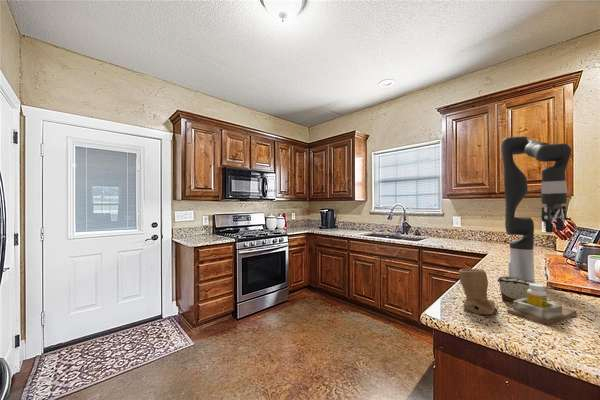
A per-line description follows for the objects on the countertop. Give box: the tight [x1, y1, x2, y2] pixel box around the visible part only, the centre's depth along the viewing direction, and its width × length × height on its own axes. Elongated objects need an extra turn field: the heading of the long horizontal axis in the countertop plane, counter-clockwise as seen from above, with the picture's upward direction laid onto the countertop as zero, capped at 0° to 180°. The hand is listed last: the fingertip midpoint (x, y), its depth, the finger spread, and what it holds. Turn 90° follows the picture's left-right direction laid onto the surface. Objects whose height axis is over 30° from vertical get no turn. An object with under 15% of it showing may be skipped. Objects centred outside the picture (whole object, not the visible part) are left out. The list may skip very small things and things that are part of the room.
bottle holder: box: [506, 297, 578, 327], centre depth 94 cm, size 12×20×4 cm, turn 115°
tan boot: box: [458, 268, 496, 315], centre depth 100 cm, size 15×12×15 cm
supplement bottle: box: [527, 282, 548, 308], centre depth 93 cm, size 5×5×10 cm
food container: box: [497, 275, 536, 304], centre depth 106 cm, size 12×6×10 cm, turn 46°
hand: (554, 231), depth 106 cm, fingers open, 8 cm apart
